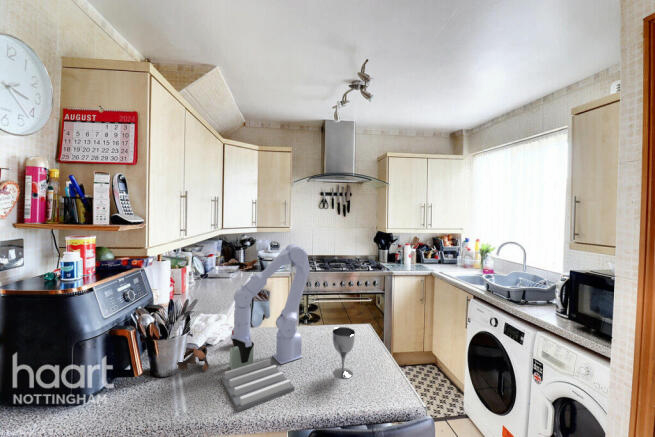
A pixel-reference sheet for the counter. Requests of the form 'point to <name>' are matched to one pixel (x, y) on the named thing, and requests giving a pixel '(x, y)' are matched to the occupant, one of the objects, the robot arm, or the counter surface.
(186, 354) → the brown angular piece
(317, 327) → the counter surface
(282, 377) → the rack
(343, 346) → the wine glass
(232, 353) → the mint green upright block
